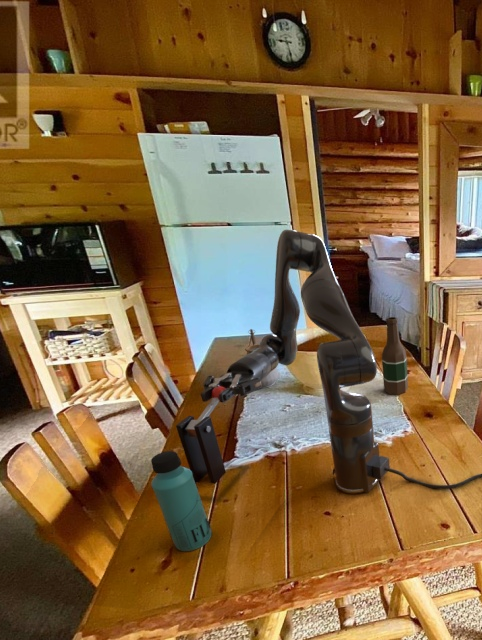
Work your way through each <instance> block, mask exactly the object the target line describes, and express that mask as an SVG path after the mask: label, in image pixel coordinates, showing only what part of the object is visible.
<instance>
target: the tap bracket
mask: <svg viewBox="0 0 482 640" xmlns="http://www.w3.org/2000/svg"><path fill="white" fill-rule="evenodd" d="M191 420H195V417H194V415H188V416H186V417H185V418H184V419H182V420H181V421H180V422H179V423H177V424H176V425H175V427H176V431H177V434H178V437H179V440H180V443H181V447H182V449H183V452H184V456H185V458H186V462H187V465H188V469H190V470H191V471H192V474H193V478H194V481H195V483H196V484H198V483H200V482H201V481H202V480H203V478H205V477H206V476H207V475H208V478H209V481H210V484H213V485H216V484H217V482H218V481H219V480H220V479H221V478H222V477H224V475H225V474H226V473H227V471H226V466H225V464H224V460H223V456H222V453H221V450H220V445H219V443H218V439H217V435H216V431H215V428H214V424H213V421H212V417H211V416H209V417H205V418H204V419H203V420H201V421H200V422H199V423H198V424H196V425H195V426H194V429H195V432H196V435H197V437H190V436H189V434H188V433H187V431H186V430H185V428H186V427H187V426H188V424H189V423H190V422H191Z"/></svg>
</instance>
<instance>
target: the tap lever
mask: <svg viewBox="0 0 482 640" xmlns="http://www.w3.org/2000/svg"><path fill="white" fill-rule="evenodd" d="M225 389H226V388H224V387H221V386H219V387H215V388H214V389H213V390H212V393H211V396H212V398H211V399H210V401H209V403H208V404H207V405H206V407H205V408H204V410H203V411H202V413H201V414H200V416H198V418H197V419H194V420H191V422H190V423H189V424H188V426H187V427H186V428H185V430H186V431H187V433H188V434H189V436H190V437H197V435H196V432H195V429H194V426H195V425H196V424H198V423H199V422H200V421H201V420H203V419H204V418H205V417H210V415H211V414H212V412H213V411H214V409H215V408H216V407H217V405H218V404H219V403H221V402H220V399H219V394H220V393H221V392H222V391H224V390H225Z"/></svg>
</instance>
